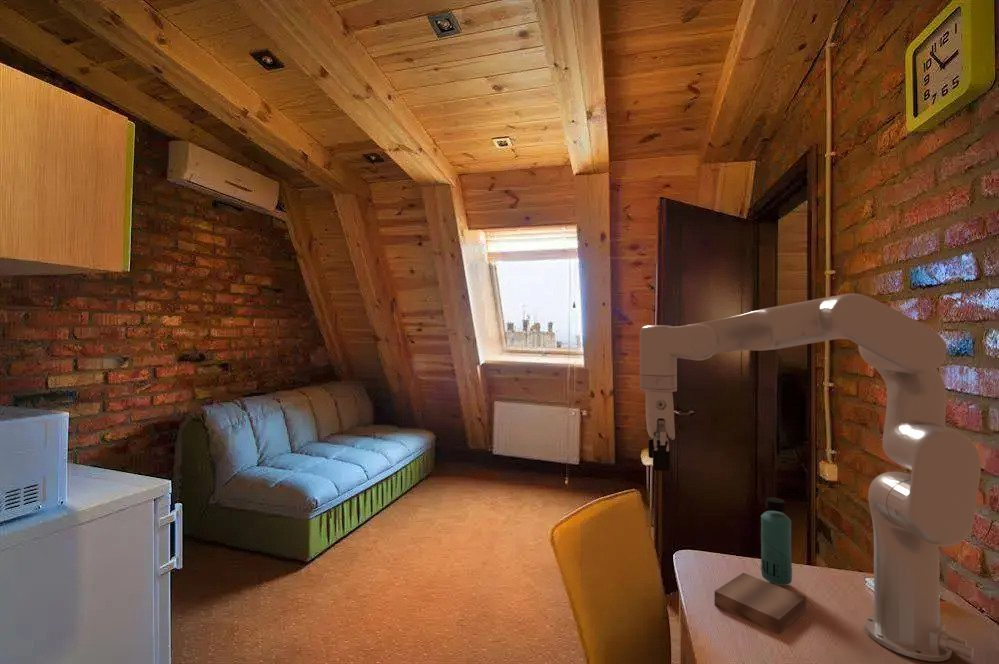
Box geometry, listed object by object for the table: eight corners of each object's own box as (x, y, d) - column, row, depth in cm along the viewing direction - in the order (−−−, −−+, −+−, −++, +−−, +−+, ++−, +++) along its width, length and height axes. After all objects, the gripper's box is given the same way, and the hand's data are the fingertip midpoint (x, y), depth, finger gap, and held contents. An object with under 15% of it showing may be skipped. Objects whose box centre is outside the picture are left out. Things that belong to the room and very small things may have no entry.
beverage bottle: (792, 582, 112) (792, 497, 112) (792, 595, 106) (791, 506, 106) (761, 574, 115) (760, 492, 115) (759, 587, 110) (758, 500, 110)
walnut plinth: (805, 611, 100) (805, 597, 100) (779, 635, 92) (778, 619, 92) (743, 585, 110) (743, 572, 110) (714, 604, 103) (714, 591, 103)
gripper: (683, 388, 91) (684, 476, 91) (671, 379, 108) (671, 454, 108) (642, 387, 93) (643, 474, 93) (637, 379, 110) (637, 453, 110)
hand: (658, 463), depth 100 cm, fingers open, 9 cm apart
